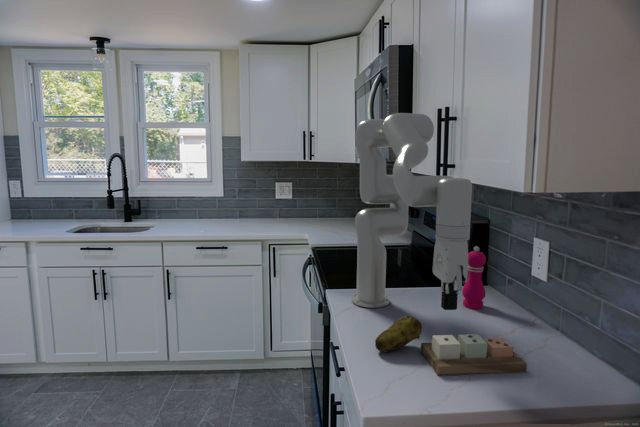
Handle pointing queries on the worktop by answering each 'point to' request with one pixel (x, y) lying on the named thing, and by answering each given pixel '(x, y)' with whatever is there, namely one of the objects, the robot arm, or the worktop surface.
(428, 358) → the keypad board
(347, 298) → the worktop surface
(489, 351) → the three-pip tile
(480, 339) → the two-pip tile
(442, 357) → the one-pip tile
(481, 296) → the pepper mill
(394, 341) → the potato
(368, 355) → the worktop surface
